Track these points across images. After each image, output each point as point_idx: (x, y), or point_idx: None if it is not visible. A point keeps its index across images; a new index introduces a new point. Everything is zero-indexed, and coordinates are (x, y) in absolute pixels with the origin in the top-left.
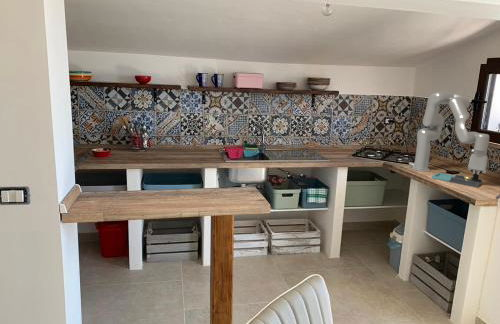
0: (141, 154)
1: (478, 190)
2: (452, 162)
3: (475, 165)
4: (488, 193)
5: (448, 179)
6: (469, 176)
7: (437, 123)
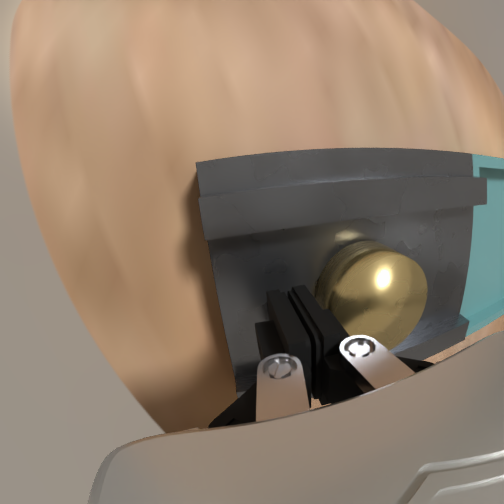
0: None
1: (142, 68)
2: None
3: (486, 481)
4: (51, 69)
5: (476, 155)
6: (378, 333)
7: None
